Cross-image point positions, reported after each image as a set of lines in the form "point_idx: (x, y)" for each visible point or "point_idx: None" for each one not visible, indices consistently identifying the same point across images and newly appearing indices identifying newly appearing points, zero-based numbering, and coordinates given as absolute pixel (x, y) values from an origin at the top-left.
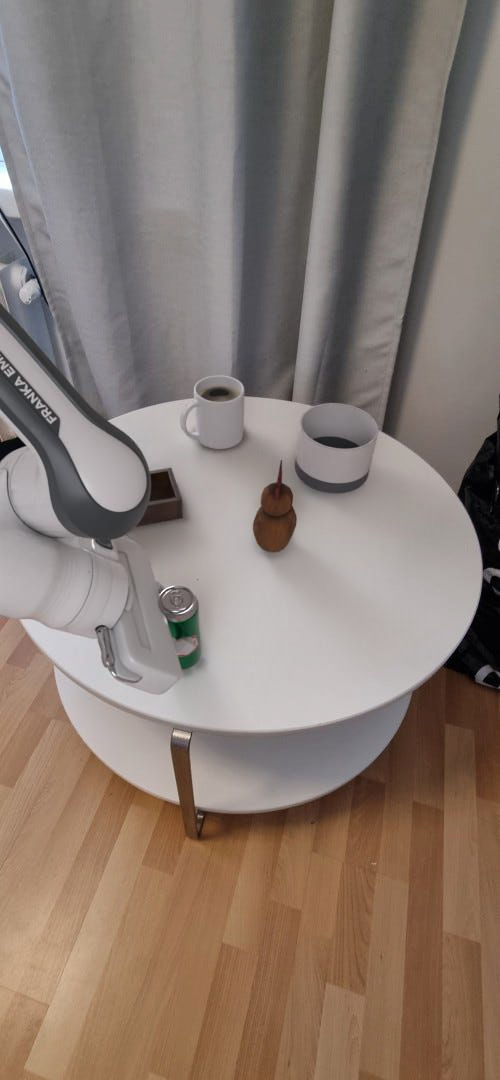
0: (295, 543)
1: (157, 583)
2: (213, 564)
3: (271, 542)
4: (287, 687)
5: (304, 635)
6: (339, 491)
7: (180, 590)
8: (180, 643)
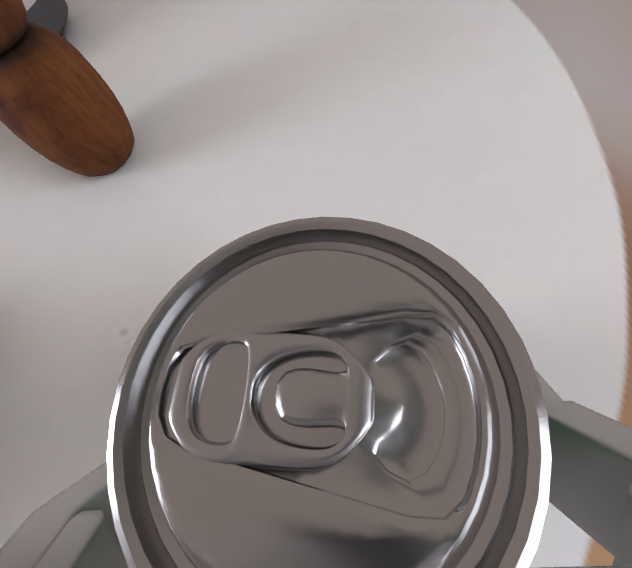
0: (130, 117)
1: (33, 532)
2: (98, 284)
3: (103, 118)
4: (500, 174)
5: (361, 127)
6: (56, 25)
7: (197, 333)
8: (629, 444)
